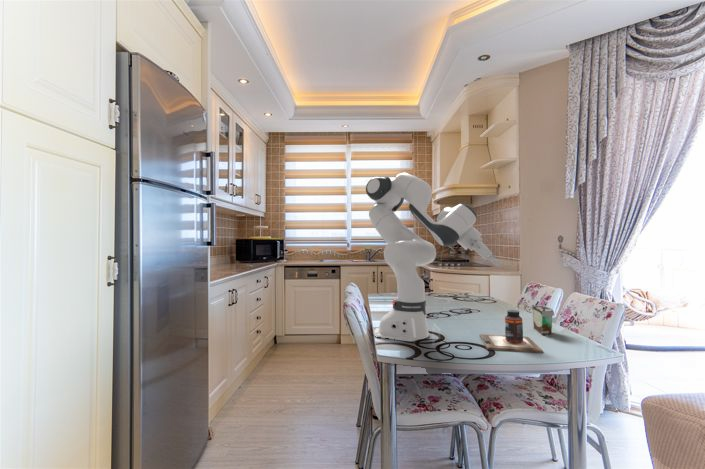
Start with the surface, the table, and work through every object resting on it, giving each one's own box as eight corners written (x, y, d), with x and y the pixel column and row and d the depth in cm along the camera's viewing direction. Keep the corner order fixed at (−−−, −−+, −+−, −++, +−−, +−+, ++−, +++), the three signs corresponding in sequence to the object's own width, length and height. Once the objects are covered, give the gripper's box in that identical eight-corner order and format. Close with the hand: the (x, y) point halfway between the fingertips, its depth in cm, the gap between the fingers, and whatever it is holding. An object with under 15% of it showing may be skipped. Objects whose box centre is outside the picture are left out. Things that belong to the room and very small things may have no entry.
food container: (560, 337, 128) (559, 311, 129) (543, 336, 130) (542, 311, 130) (547, 328, 140) (547, 305, 141) (532, 328, 142) (532, 305, 142)
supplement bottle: (525, 341, 120) (524, 310, 120) (520, 344, 116) (519, 313, 116) (508, 337, 124) (507, 308, 125) (502, 341, 120) (502, 311, 120)
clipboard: (487, 349, 115) (487, 345, 115) (479, 336, 130) (479, 332, 130) (543, 352, 111) (543, 348, 111) (528, 338, 126) (528, 335, 126)
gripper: (476, 233, 119) (506, 260, 116) (476, 234, 138) (502, 257, 135) (464, 245, 121) (492, 272, 117) (465, 244, 140) (490, 267, 136)
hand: (497, 264), depth 126 cm, fingers open, 8 cm apart
